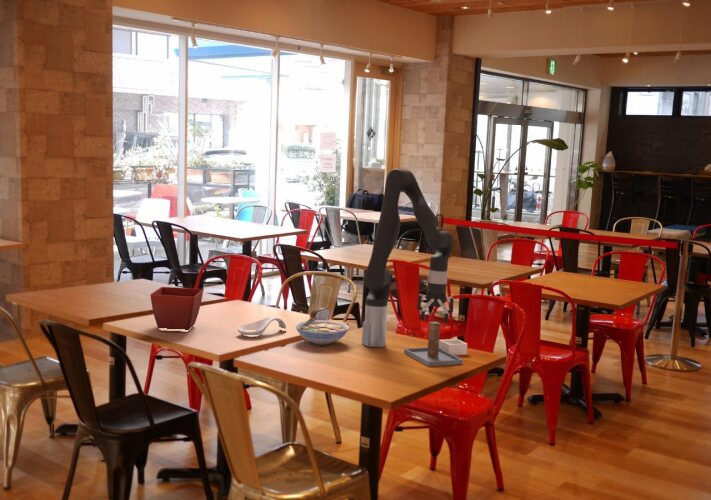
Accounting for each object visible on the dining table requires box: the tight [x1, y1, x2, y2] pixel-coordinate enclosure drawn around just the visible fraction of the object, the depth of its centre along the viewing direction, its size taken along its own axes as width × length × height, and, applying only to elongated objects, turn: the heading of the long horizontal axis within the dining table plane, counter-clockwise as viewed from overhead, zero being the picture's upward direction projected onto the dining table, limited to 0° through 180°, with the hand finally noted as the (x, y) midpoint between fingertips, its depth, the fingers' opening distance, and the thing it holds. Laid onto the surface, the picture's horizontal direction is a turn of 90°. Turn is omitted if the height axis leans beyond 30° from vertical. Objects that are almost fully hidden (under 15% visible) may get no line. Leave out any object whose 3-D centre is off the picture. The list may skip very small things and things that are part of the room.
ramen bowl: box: [295, 317, 350, 346], centre depth 339 cm, size 25×23×8 cm
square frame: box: [439, 338, 468, 356], centre depth 333 cm, size 9×9×4 cm
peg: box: [427, 321, 441, 358], centre depth 321 cm, size 3×3×14 cm
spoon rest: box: [237, 316, 287, 335], centre depth 350 cm, size 24×12×7 cm, turn 135°
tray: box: [403, 346, 464, 367], centre depth 322 cm, size 15×21×2 cm
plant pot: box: [149, 286, 204, 330], centre depth 351 cm, size 19×19×17 cm
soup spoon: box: [309, 306, 331, 321], centre depth 372 cm, size 15×3×8 cm, turn 152°
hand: (434, 321), depth 320 cm, fingers open, 8 cm apart
